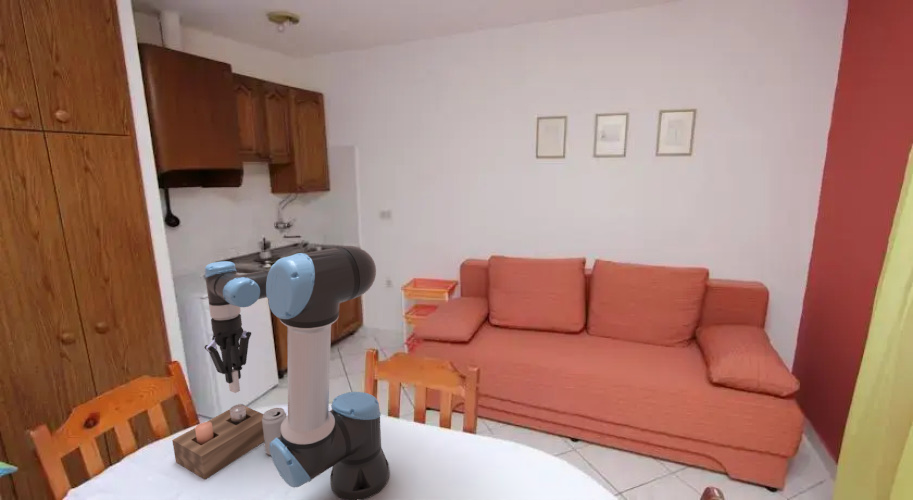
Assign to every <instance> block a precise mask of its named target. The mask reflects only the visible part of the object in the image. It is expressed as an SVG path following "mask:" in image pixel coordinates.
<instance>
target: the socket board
mask: <svg viewBox="0 0 913 500" xmlns="http://www.w3.org/2000/svg"><path fill="white" fill-rule="evenodd" d="M245 410H246V420H245V421H243V422H241V423H239V424H238V425H234V424H232V422H231V415H230V408H229V409H227V410H226V411H224V412H222V413H221V414H218V415H216V416H214V417H212V418H210V419H209V420H207V421H206V422H211V423H212V428H213V435H214V438H213V439H212V440H210V441H208V442H206V443H205V444H203V445H200V444H198V443H197V438H196V431H195V427H194V428H192V429H190V430H187V432H184V433H183V434H180V435H179V436H177V437H176V438H173V439H172V446H173V451H174V459H175V463H177V464H179V465H180V466H182V467H183V468H184V469H187V470H188V471H190V472H192V473H194V474H195V475H196V476H198V477H199V478H201V479H203V480H207V479H208V478H210V477H211V476H213V475H214V474H216V473H217V472H219V471H221V470H222V469H224V468H225V467H227V466H229V465H230V464H232V463H233V462H234V461H237V460H238V459H239V458H241V457H242V456H244V455H245V454H247V453H249V451H251V450H253V449H254V448H256V447H257V446H259V445H260V444H262V443H263V442H264V433H263V425H262V418H263V414H264V413H262V412H260V411H258V410H255V409H253V408H250V407H248V406H246V405H245ZM264 443H265V442H264Z"/></svg>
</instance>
